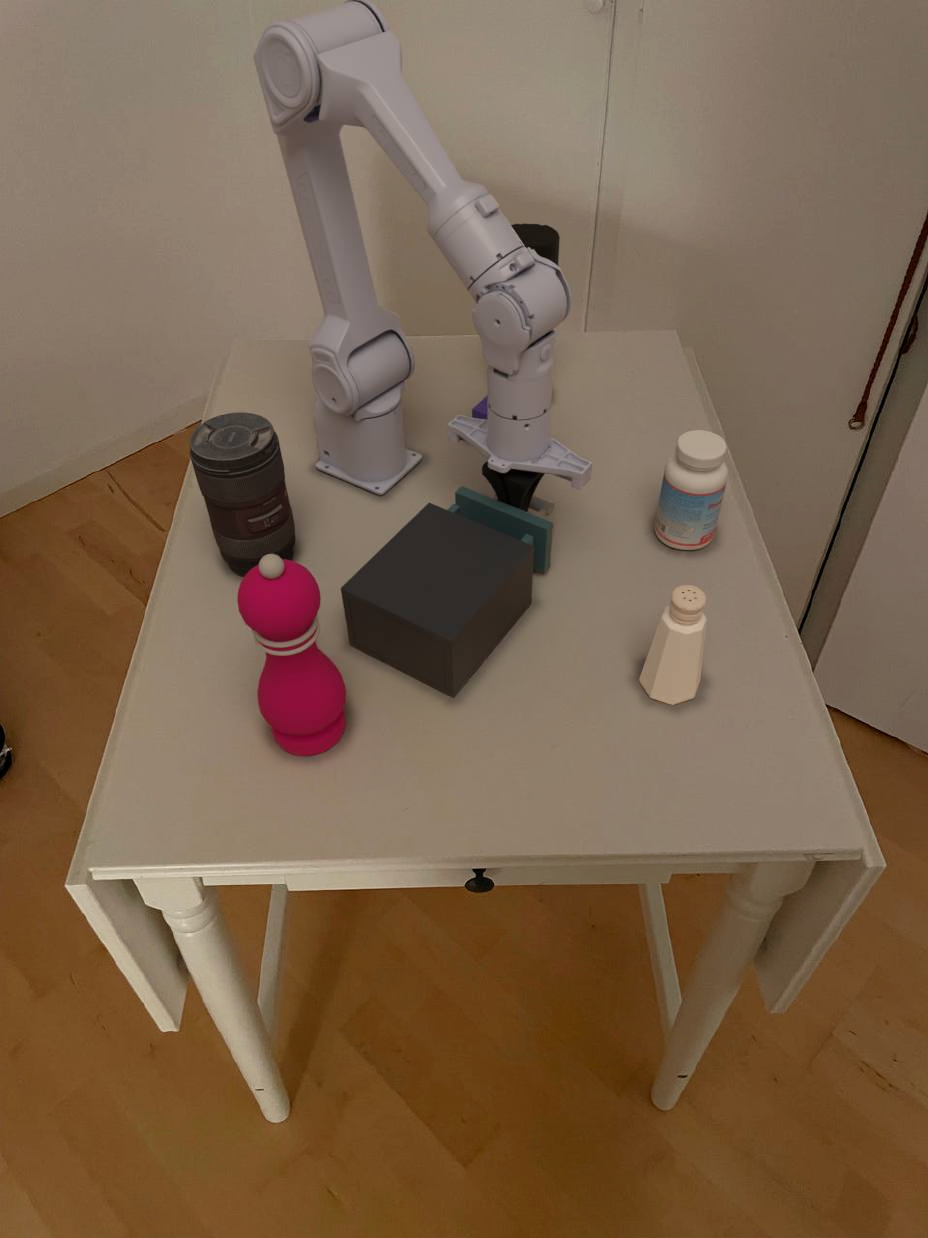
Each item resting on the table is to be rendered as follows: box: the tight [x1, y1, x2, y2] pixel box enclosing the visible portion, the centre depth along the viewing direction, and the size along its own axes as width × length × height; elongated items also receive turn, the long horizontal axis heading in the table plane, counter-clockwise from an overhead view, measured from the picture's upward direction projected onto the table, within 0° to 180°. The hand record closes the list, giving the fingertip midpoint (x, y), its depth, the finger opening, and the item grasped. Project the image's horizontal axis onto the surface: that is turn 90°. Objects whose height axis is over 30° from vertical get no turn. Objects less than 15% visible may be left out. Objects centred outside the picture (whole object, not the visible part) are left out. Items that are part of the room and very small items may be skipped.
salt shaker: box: [638, 584, 708, 706], centre depth 77 cm, size 5×5×11 cm
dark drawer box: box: [340, 502, 534, 699], centre depth 84 cm, size 14×12×8 cm
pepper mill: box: [236, 554, 347, 757], centre depth 71 cm, size 7×7×20 cm
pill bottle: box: [654, 429, 729, 551], centre depth 91 cm, size 6×6×11 cm
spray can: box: [510, 223, 561, 331], centre depth 105 cm, size 7×7×20 cm
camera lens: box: [189, 411, 296, 578], centre depth 88 cm, size 8×8×15 cm
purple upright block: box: [471, 395, 487, 420], centre depth 105 cm, size 4×4×4 cm
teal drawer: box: [446, 485, 556, 574], centre depth 88 cm, size 17×10×6 cm, turn 147°
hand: (515, 518), depth 92 cm, fingers closed, pressing on teal drawer
